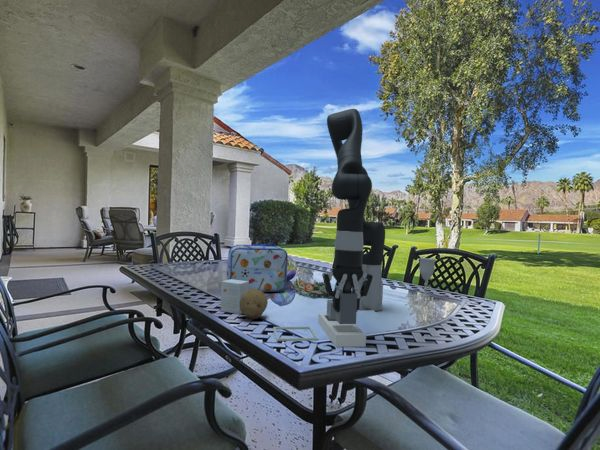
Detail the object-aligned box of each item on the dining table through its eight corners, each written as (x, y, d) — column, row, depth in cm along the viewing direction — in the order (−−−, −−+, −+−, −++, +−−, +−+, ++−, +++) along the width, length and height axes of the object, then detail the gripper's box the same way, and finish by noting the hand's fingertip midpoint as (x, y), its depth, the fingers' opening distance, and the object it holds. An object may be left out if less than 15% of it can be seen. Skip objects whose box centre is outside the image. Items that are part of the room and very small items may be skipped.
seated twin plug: (340, 325, 105) (341, 289, 105) (344, 330, 101) (346, 292, 101) (326, 325, 105) (327, 289, 105) (329, 330, 100) (331, 292, 100)
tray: (310, 331, 102) (310, 326, 102) (317, 343, 92) (317, 338, 92) (273, 332, 100) (273, 326, 100) (276, 344, 90) (276, 338, 90)
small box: (248, 311, 121) (249, 281, 121) (239, 314, 116) (240, 283, 116) (229, 307, 125) (230, 278, 125) (220, 311, 120) (221, 280, 120)
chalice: (435, 299, 154) (437, 259, 154) (432, 302, 148) (434, 260, 148) (418, 296, 158) (420, 257, 158) (414, 299, 152) (416, 258, 152)
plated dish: (274, 286, 172) (274, 271, 172) (327, 286, 179) (327, 272, 179) (291, 304, 138) (292, 286, 138) (355, 303, 146) (356, 286, 146)
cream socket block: (318, 326, 107) (318, 311, 107) (343, 326, 108) (343, 311, 108) (335, 350, 87) (336, 332, 87) (365, 350, 89) (366, 332, 89)
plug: (350, 319, 95) (352, 279, 95) (355, 324, 91) (357, 282, 91) (335, 319, 95) (337, 279, 95) (339, 324, 90) (341, 282, 90)
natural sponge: (262, 325, 105) (263, 293, 105) (234, 322, 107) (235, 290, 107) (269, 317, 114) (270, 287, 114) (244, 315, 116) (245, 285, 116)
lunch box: (284, 288, 164) (286, 242, 163) (290, 293, 154) (292, 244, 153) (225, 289, 156) (227, 240, 155) (227, 294, 146) (229, 242, 145)
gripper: (369, 247, 98) (366, 308, 98) (319, 246, 95) (316, 307, 95) (379, 250, 90) (376, 315, 90) (326, 248, 88) (323, 315, 88)
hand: (345, 311), depth 93 cm, fingers closed on plug, 4 cm apart
